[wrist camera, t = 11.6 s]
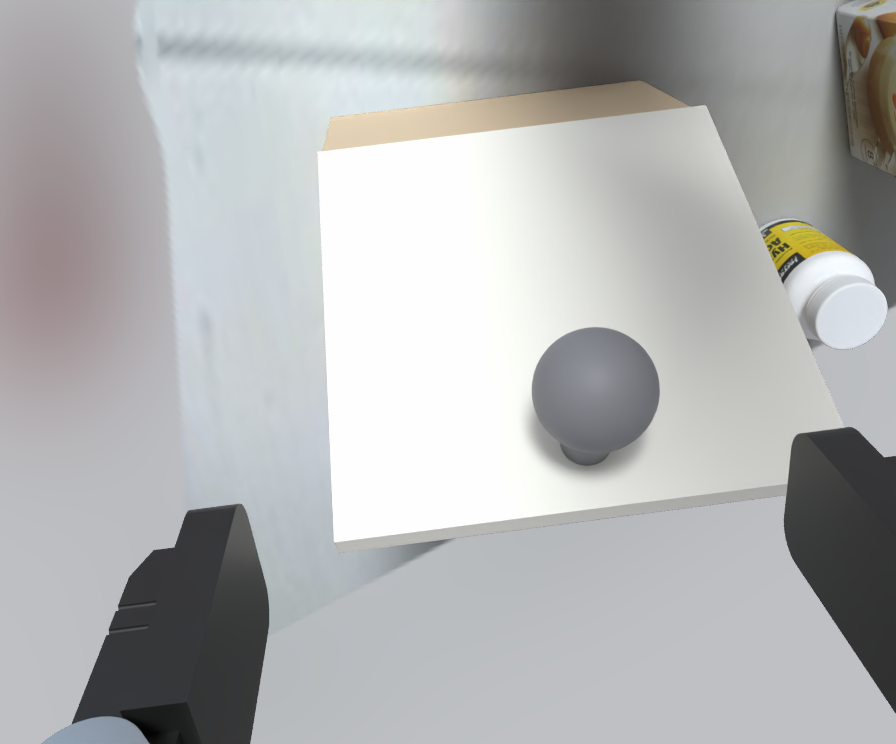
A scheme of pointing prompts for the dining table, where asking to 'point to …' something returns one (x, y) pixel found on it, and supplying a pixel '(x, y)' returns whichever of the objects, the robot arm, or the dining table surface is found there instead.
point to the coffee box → (870, 79)
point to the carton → (496, 114)
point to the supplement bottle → (825, 285)
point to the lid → (552, 331)
